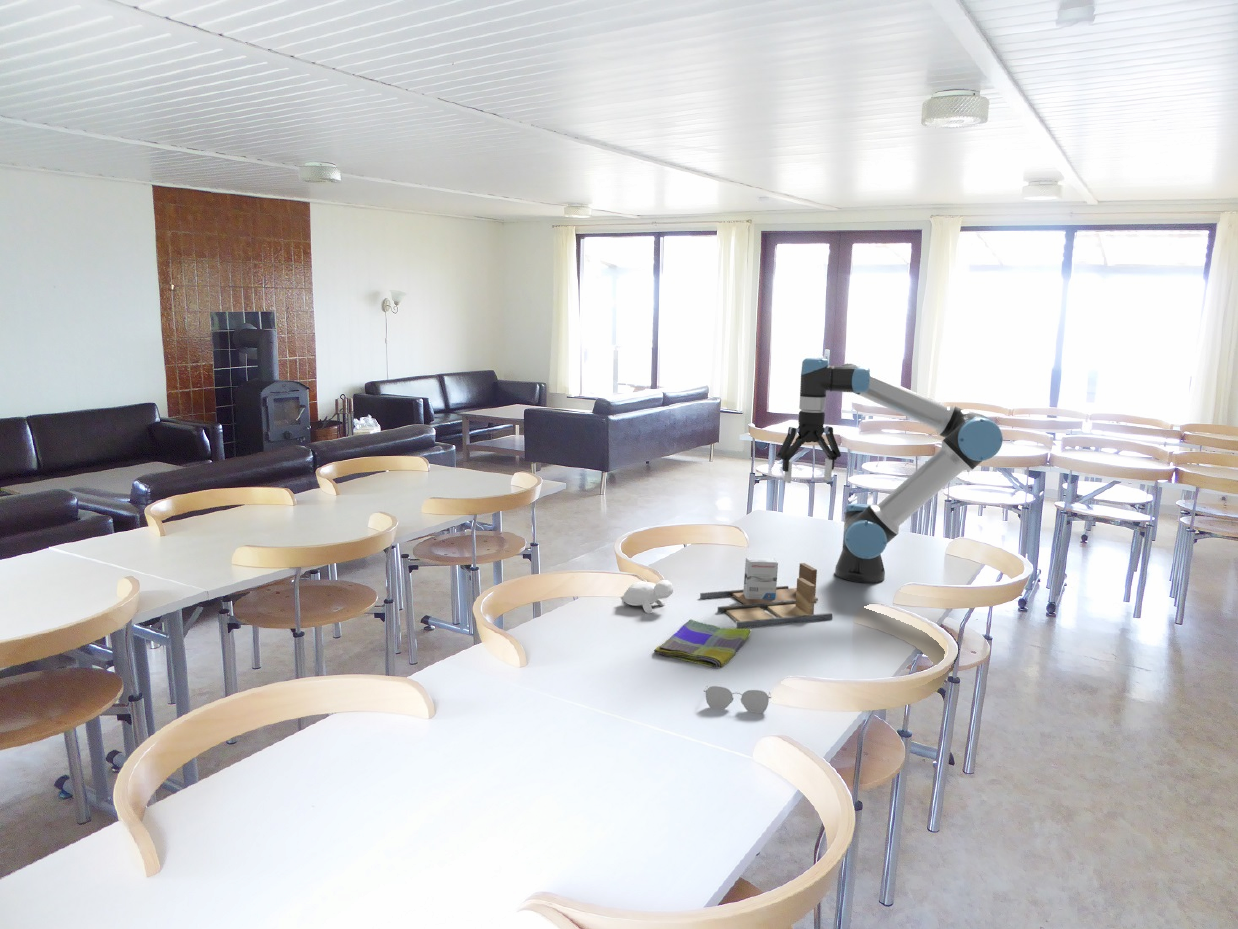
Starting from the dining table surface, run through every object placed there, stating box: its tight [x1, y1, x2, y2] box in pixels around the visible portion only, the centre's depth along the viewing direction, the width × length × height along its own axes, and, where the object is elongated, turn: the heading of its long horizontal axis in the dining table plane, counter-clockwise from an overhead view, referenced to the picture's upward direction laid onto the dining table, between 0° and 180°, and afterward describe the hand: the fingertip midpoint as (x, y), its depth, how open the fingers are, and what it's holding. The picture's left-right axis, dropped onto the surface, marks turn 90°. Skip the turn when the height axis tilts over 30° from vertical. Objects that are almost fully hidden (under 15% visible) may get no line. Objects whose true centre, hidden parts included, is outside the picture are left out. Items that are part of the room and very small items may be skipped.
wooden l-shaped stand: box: [725, 577, 816, 623], centre depth 229 cm, size 22×10×9 cm, turn 108°
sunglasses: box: [703, 685, 772, 714], centre depth 178 cm, size 14×8×5 cm, turn 79°
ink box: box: [742, 557, 779, 599], centre depth 241 cm, size 8×5×12 cm, turn 93°
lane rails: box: [699, 585, 833, 629], centre depth 235 cm, size 28×25×2 cm
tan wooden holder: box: [732, 562, 819, 605], centre depth 242 cm, size 22×10×9 cm, turn 108°
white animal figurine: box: [620, 579, 674, 615], centre depth 233 cm, size 8×8×15 cm
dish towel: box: [653, 618, 751, 669], centre depth 208 cm, size 18×24×3 cm
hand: (807, 481), depth 254 cm, fingers open, 13 cm apart
